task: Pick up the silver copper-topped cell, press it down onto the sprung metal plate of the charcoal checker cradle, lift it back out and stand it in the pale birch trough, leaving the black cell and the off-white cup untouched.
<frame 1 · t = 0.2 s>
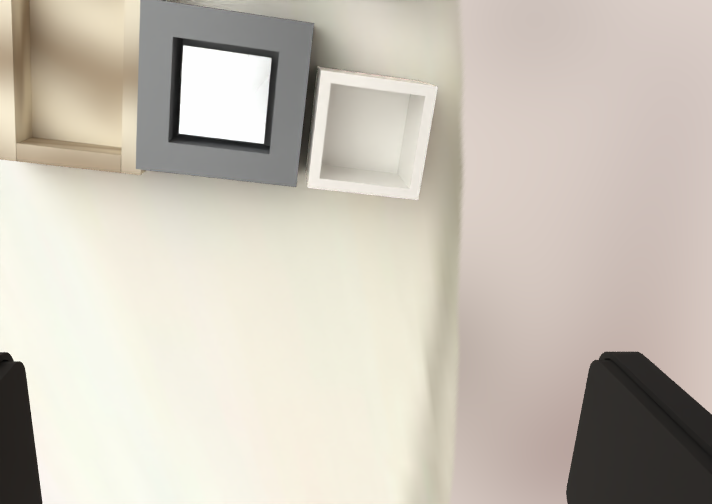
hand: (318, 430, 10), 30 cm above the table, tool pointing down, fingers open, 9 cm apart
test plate: (225, 95, 35), point 2 cm above the table, slide at -0.2 cm
checker cradle: (229, 92, 38), on the table
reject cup: (361, 126, 39), on the table
trough: (85, 55, 36), on the table
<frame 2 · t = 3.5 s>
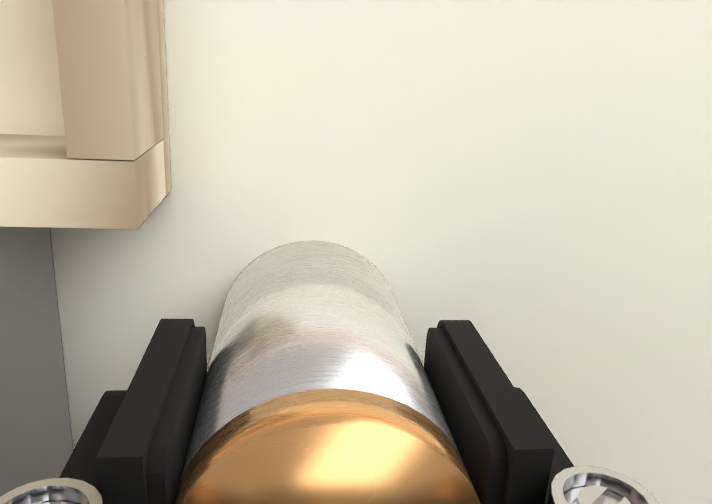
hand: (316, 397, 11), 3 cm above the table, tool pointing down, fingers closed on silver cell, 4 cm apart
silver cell: (310, 324, 14), on the table, touching gripper
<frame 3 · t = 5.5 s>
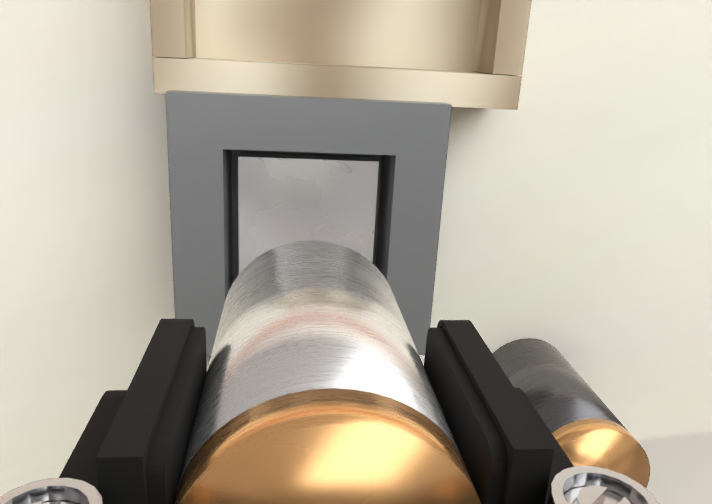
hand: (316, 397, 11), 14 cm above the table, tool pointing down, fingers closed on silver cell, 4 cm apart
black cell: (523, 378, 28), on the table
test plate: (307, 223, 22), point 2 cm above the table, slide at -0.2 cm
checker cradle: (305, 207, 25), on the table
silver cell: (310, 323, 14), point 11 cm above the table, touching gripper
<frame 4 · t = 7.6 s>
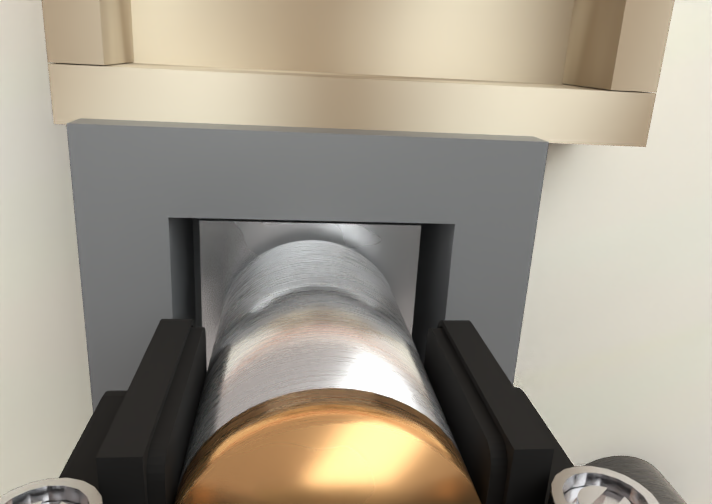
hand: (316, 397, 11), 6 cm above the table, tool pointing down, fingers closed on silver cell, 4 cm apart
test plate: (308, 317, 15), point 2 cm above the table, slide at -0.5 cm, touching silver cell
checker cradle: (306, 283, 17), on the table
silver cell: (310, 323, 14), point 3 cm above the table, touching gripper, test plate
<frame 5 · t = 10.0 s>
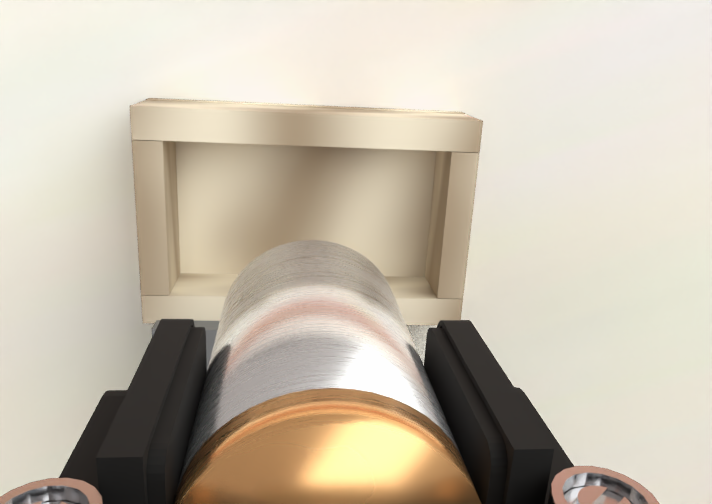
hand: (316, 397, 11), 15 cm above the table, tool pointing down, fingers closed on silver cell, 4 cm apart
checker cradle: (279, 385, 28), on the table
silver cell: (310, 323, 14), point 12 cm above the table, touching gripper
trough: (306, 204, 25), on the table
when the fingers open (5 cm above the table, at t = 12.0 s): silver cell stays where it is, resting on trough.
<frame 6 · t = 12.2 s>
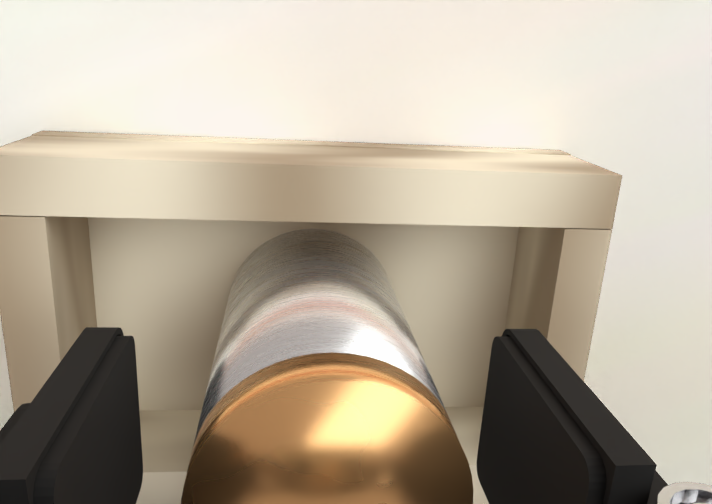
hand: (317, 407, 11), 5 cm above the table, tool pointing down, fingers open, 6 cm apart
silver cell: (311, 307, 15), point 1 cm above the table, touching trough
trough: (308, 298, 16), on the table
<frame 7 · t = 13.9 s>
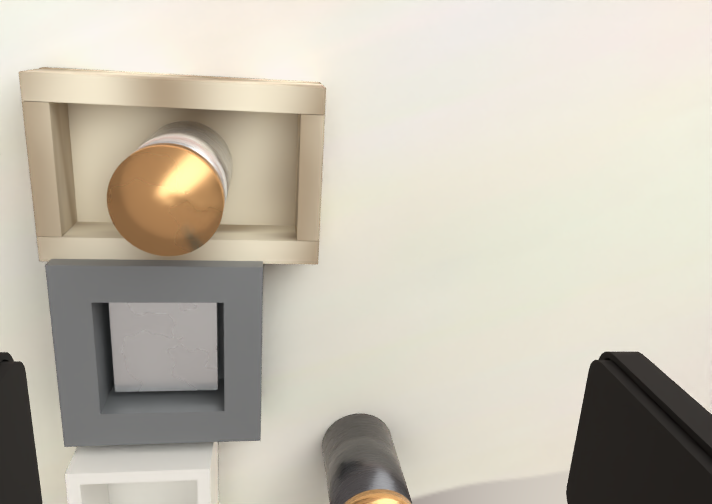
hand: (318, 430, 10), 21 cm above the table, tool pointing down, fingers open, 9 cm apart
black cell: (356, 443, 36), on the table
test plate: (166, 342, 30), point 2 cm above the table, slide at -0.5 cm
checker cradle: (172, 322, 32), on the table
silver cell: (188, 164, 29), point 1 cm above the table, touching trough
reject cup: (158, 459, 34), on the table
trough: (188, 162, 29), on the table
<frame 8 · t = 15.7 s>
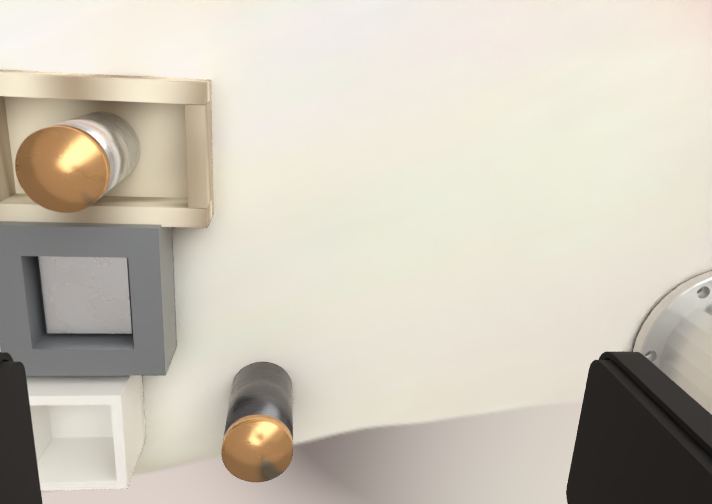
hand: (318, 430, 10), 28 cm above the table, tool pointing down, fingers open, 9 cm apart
black cell: (262, 388, 42), on the table
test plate: (88, 293, 36), point 2 cm above the table, slide at -0.5 cm
checker cradle: (99, 279, 38), on the table
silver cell: (104, 147, 35), point 1 cm above the table, touching trough
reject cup: (93, 398, 41), on the table
trough: (106, 145, 36), on the table
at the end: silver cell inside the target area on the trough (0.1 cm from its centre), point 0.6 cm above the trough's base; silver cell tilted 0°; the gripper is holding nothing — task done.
